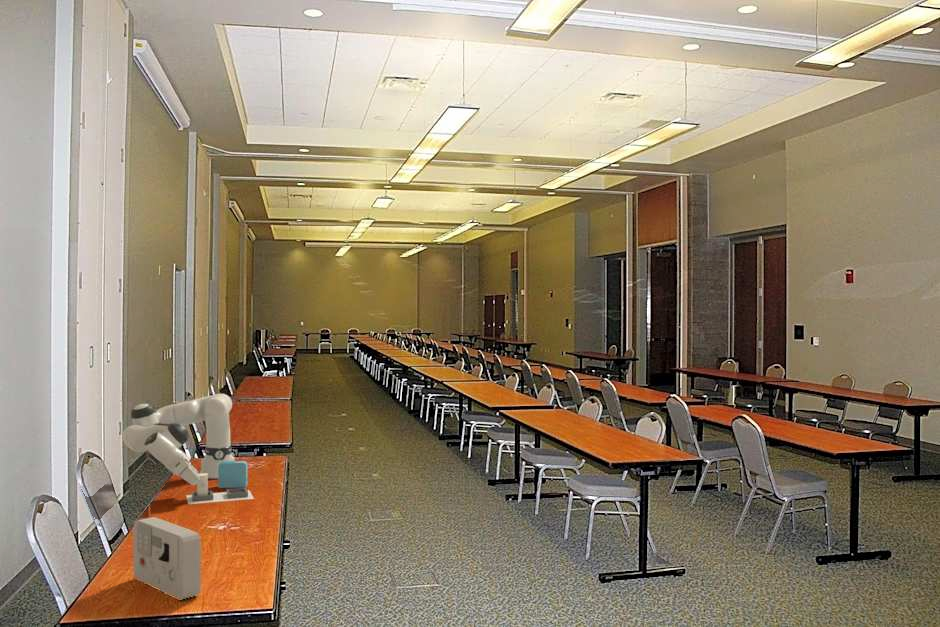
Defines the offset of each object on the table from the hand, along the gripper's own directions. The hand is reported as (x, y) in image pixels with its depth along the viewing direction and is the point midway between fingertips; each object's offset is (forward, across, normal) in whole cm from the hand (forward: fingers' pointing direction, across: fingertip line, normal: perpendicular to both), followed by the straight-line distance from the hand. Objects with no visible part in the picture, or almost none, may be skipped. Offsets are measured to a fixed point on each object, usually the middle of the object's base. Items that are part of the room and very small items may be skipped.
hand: (204, 485), depth 323 cm
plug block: (+3, 0, -4) cm, 5 cm away
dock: (+9, 0, 0) cm, 9 cm away
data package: (+14, -18, +5) cm, 23 cm away
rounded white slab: (-7, +102, -17) cm, 104 cm away
